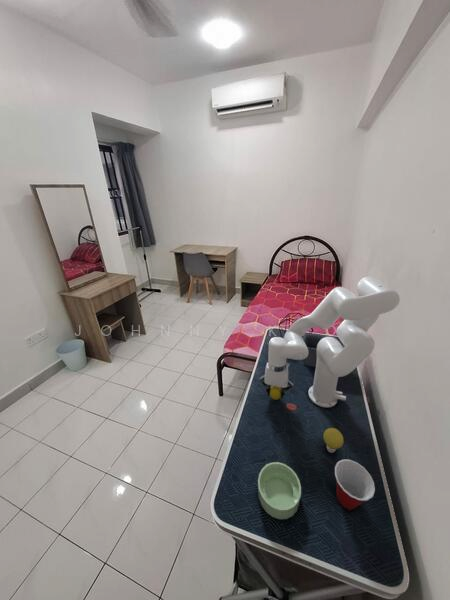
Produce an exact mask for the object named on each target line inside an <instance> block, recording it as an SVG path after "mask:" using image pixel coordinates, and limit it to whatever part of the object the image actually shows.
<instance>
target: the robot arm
mask: <svg viewBox="0 0 450 600" xmlns="http://www.w3.org/2000/svg"><path fill="white" fill-rule="evenodd" d="M356 285H357V286H356V292H357V295H356V294H354V292H352V291H351V290H349V289H348V288H346V287H343V286H336V287H334V288H333V289H331V290H330V292H328V294H327V295H326V296H325V297H324V298H323V299H322V300H321V302H319V304H318V305H317V306H316V308H315V309H314V310H313V311H312V312H311V313H310V314H309V315H305V316H303V317H301V318H298V319H297V320H295V321H294V322H293V323H292V324H291V325H290V326H289V328H287V330H286V332H285V333H284V336H283V337H281V336H273V337H272V338H270V340H269V341H268V353H267V354H268V357H267V358H268V359H267V362H266V365H265V370H264V375H262V376H260V377H259V379H258V380H259V382H260V383H261V384H262V385H263V386H264V387H265V389H266V390H265V392H266V394H267V396H270V393H269V391H270V388H271V386H277V387H280V388H281V391H282V392H281V397H280V399H283V398H284V397H285V396H286V391H289V390H290V389H292V388H294V383H293V382H292V381H291V380H290V378H289V368H290V365H291V363H289V362H288V361H287V359H289V360H294V361H303V360H305V358H306V357H307V356H308V353H309V352H308V348H307V346H306V344H305V342H304V340H303V337H304V335H305V334H307V332H308V331H309V330H311V329H312V328H319V329H320V330H329V329H330V328H332V326H333V325H334V324H335V323H336V321H338V320H339V318H341V319H342V320H343V321H342V322H341V323H339V325H338V326H337V328H336V330H335V333H336V336H337V338H339V339H340V341H341V342H342V343H343V345H344V346H345V347H344V348H343V346H342V345H341V344H340V342H339V341H338V340H336V339H335V338H336V337H335V338H333V337H334V336H329V337H325V338H322V339H321V340H320V341H319V343H318V345H317V362H316V367H315V371H314V376H313V383H312V385H311V386H310V387H309V389H308V393H307V394H308V397H309V400H310V401H311V402H312V403H313V404H315V405H317V406H318V407H321V408H333V407H335V406H336V404H337V403H338V400H341V401H344V402H346V401H347V396H346V395H343V391H338V390H337V385H338V381H339V378H343V377H346V376H348V375H350V374H351V373H352V372H353V371H355V369H356V368H357V367H359V366H360V365H361V364H362V363H363V362H364V361H365V360H366V359H368V357H369V356H371V354H372V353H373V351H374V349H375V341H374V339H373V336H371V334H370V333H369V332H368V331H369V330H370V329H371V327H372V326H373V325H374V324H375V323H376V322H377V320H378V319H379V317H380V315H383V314H386V313H389V312H391V311H393V310H395V309H396V308H397V306H398V305H399V304H400V300H401V298H400V294H399V293H398V292H397V291H396V290H395V289H394V288H393V287H391V286H389V285H387V284H386V283H384V282H383V281H381V279H378V278H376V277H374V276H363V277H362V278H361V279H360V280H359V281H358V283H357V284H356Z"/></svg>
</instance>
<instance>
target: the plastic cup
mask: <svg viewBox="0 0 450 600" xmlns="http://www.w3.org/2000/svg"><path fill="white" fill-rule="evenodd" d="M334 477H335V482H336V483H335V485H336V486H335V487H336V489H335V490H336V499H337V500H338V503H339V504H340V505H341V507H343V508H345V509H347V510H354V509H357V507H359V506H360V505H361V504H362V503H363V502H364V501H369V500H370V499H372V498H373V497H374V494H375V491H376V486H375V482H374V480H373V477H372V475H371V474H370V472H368V470H367V469H366V468H365V466H363V465H361V464H360V463H358V462H357V461H355V460H351V459H341V460H338V461H337V462H336V464H335V466H334Z"/></svg>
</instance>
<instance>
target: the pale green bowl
mask: <svg viewBox="0 0 450 600" xmlns="http://www.w3.org/2000/svg"><path fill="white" fill-rule="evenodd" d="M257 497H258V500H259V503H260V505H261V507H262V508H263V510H264V511H265V513H267V514H268V515H270V516H271V517H272V518H275V519H278V520H288V519H289V518H291V517H294V515H295V514H296V513H297V512H298V510H299V507H300V504H301V503H300V502H301V497H302V486H301V481H300V478H299V477H298V475H297V472H295V471H294V470H293V469H292V468H291V467H290V466H288V465H287V464H285V463H283V462H280V461H273V462H269V463H266V464H265V465H264V466H263V467H262V468H261V470H260V472H259V474H258V478H257Z"/></svg>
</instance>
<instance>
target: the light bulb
mask: <svg viewBox="0 0 450 600" xmlns="http://www.w3.org/2000/svg"><path fill="white" fill-rule="evenodd" d="M322 436H323V438H322V439H323V440H324V443H325V444H326V450H327V451H328V452H329V453H331V454H333V453H335V452H336V450H338V449H340V448H342V447H343V445H344V440H345V439H344V437H343V434H342V433H341V431H340V430H339V429H337V428H334V427H329V428H326V429H325V430H324V431H323V435H322Z"/></svg>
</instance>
